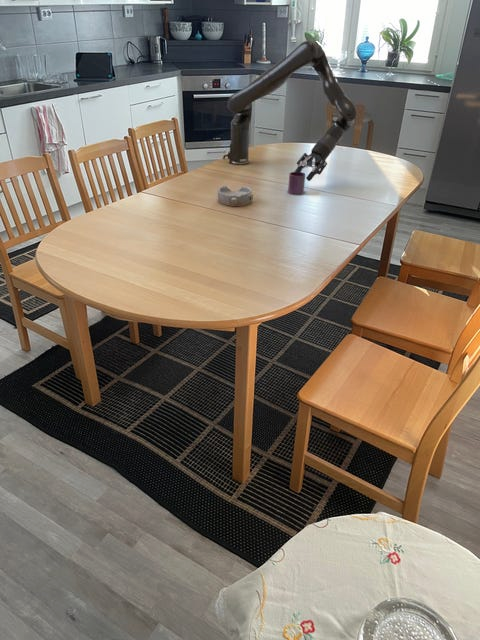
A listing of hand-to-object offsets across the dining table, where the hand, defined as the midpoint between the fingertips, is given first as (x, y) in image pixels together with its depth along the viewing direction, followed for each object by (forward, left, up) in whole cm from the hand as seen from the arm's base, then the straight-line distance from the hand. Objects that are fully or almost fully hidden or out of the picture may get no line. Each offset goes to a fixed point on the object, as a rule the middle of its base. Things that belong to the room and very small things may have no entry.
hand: (301, 177), depth 214 cm
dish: (-26, -20, -6) cm, 33 cm away
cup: (-2, -2, -6) cm, 7 cm away
